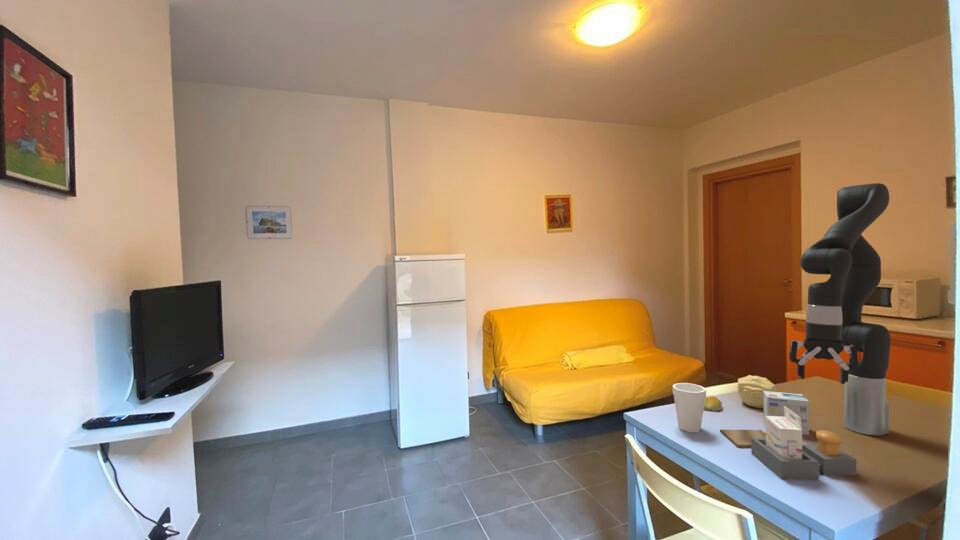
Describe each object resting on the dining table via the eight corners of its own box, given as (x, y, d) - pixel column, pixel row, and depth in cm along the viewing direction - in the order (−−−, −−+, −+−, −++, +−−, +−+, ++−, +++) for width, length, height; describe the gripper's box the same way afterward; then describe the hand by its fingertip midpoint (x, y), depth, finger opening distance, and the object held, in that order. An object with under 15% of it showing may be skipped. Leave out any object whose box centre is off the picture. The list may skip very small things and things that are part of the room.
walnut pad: (760, 432, 125) (760, 429, 125) (782, 448, 115) (782, 445, 115) (720, 432, 126) (720, 429, 126) (737, 447, 116) (737, 444, 116)
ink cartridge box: (764, 457, 110) (764, 404, 109) (784, 458, 109) (784, 405, 108) (780, 474, 102) (781, 416, 101) (803, 475, 101) (803, 417, 100)
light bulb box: (803, 427, 128) (803, 393, 127) (809, 436, 121) (810, 400, 121) (762, 422, 132) (762, 389, 132) (767, 430, 126) (767, 396, 126)
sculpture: (734, 405, 147) (734, 376, 146) (744, 397, 155) (743, 369, 154) (772, 414, 138) (772, 383, 138) (780, 404, 146) (780, 375, 146)
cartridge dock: (825, 455, 110) (825, 438, 110) (864, 480, 98) (865, 462, 97) (751, 453, 112) (751, 437, 112) (781, 479, 99) (781, 461, 99)
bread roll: (694, 401, 152) (694, 391, 152) (722, 405, 147) (722, 395, 147) (692, 408, 145) (692, 397, 145) (721, 413, 140) (721, 402, 140)
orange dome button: (830, 451, 106) (831, 430, 106) (845, 460, 102) (845, 438, 101) (811, 450, 107) (811, 430, 107) (825, 460, 102) (825, 438, 102)
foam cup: (667, 422, 134) (667, 383, 133) (694, 420, 134) (693, 382, 134) (683, 435, 124) (683, 393, 124) (712, 433, 125) (712, 391, 124)
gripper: (853, 322, 110) (851, 381, 110) (788, 318, 117) (786, 373, 117) (863, 325, 103) (860, 388, 104) (793, 321, 110) (791, 379, 111)
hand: (821, 380), depth 110 cm, fingers open, 8 cm apart
